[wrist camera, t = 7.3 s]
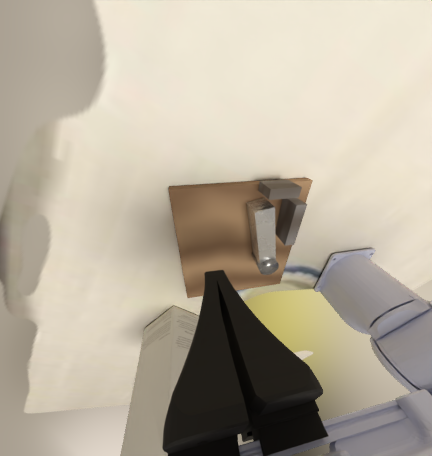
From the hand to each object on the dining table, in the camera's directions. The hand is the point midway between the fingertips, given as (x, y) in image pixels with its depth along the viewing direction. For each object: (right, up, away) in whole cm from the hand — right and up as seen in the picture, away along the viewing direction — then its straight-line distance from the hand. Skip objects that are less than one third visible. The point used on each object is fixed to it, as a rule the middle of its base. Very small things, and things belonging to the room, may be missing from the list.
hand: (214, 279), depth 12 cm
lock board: (+3, +2, +10) cm, 10 cm away
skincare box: (-8, -13, +17) cm, 23 cm away
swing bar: (+5, +3, +8) cm, 10 cm away
